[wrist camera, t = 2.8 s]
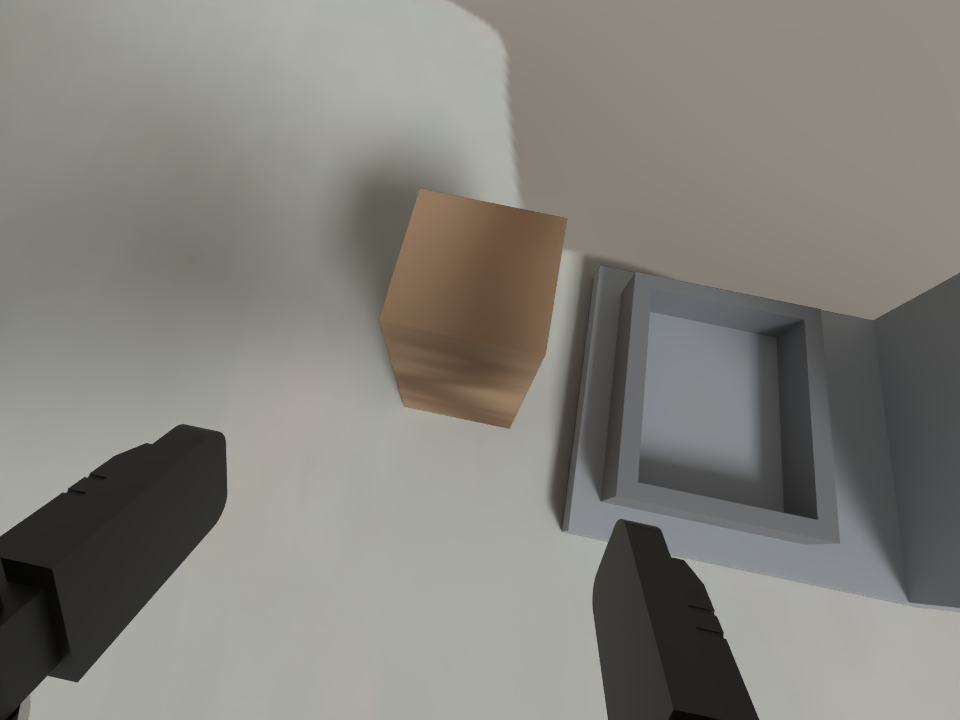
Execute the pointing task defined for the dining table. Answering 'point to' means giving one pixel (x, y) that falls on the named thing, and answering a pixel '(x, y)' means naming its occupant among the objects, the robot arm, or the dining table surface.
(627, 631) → the robot arm
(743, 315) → the grey socket stand
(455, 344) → the walnut block
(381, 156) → the dining table surface
